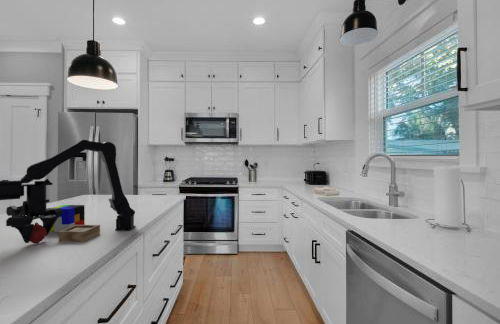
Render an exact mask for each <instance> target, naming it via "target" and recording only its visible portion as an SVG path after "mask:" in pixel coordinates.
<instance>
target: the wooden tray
mask: <svg viewBox="0 0 500 324" xmlns="http://www.w3.org/2000/svg"><path fill="white" fill-rule="evenodd" d="M100 234H101V225H100V224H85V225H75V226H72V227H69V228H67V229H64V230H61V231H59V232H58V242H87V241H88V240H91V239H93V238H94V237H95V238H96V236H98V235H100Z"/></svg>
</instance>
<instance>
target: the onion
mask: <svg viewBox="0 0 500 324" xmlns="http://www.w3.org/2000/svg"><path fill="white" fill-rule="evenodd" d="M46 234H47V231H46V229H45V228H44V227H43V225H41V224H39V223H38V222H37V221H36V222H34V226H33V230H32V234H31V238H30V241H29V243H33V244H34V245H37V244H39V243H40V242H42V241H43V240H44V239H45V238H46V237H47V236H46Z"/></svg>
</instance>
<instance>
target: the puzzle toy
mask: <svg viewBox="0 0 500 324" xmlns="http://www.w3.org/2000/svg"><path fill="white" fill-rule="evenodd" d="M52 208H61V209H62V215H59V218H58V219H57V220H56V222H55V223H54V225H53V227H52V228H51V230H50V232H49V233H52V232H54V233H57V232H58V233H59V231H61V230H64V229H67V228H69V227H72V226H75V225H86V223H85V219H86V218H85V217H86V216H85V213H86V212H85V204H62V205H57V206H54V207H52Z"/></svg>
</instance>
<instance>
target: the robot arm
mask: <svg viewBox="0 0 500 324" xmlns="http://www.w3.org/2000/svg"><path fill="white" fill-rule="evenodd" d="M85 150H86V151H91V152H95V153H98V154H99V157H100V159H101V160H102V162H103V164H104V166H105V170H106V174H107V178H108V182H109V186H110V191H111V198H108V201H109V202H108V203H109V204H110V206H109V207H110V209H112V210H113V211H114V212H116V215H117V216H116V219H115V229H114V231H131V230H133V229H134V228H135V227H136V225H134V224H135V221H134V220H135V213H136V211H135V210H134V209H133V208H131V205H130V203H129V201H128V199H127V196H126V195H125V194H124V192H123V187H122V183H121V180H120V176H119V175H120V174H119V172H118V171H119V170H118V167H117V163H116V161H117V147H116V145H115V144H114V143H113V142H111V141H105V142H98V141H92V140H87V139H81V140H79V141H78V142H77V143H75V144H73V145H71V146H70V147H68V148H65V149H64V150H62V151H61V152H59V153H57V154H55V155H54V156H52V157H49V158H46V159H44V160H41V161H39V162H36V163H33V164H31V165H29V166H28V167H27V168H26V171H25V172H26V174H25V175H24V176H23V177H21V179H20V180H0V201H8V200H9V201H10V200H20V199H21V197H24V196H25V187H26V200H24V201H23V202H22V205H20V206H16V205H10V206H7V207H6V215H7V216H9V217H8V218H7V219H6V220H5V223H6V224H5V227H11V228H15V229H16V230H17V231H18V232H19V234H20V236H21V238H22V240H23V241H24V244H29V243H30V238H31V234H32V230H33V226H34V225H35V223H33V222H34V220H37V219H40V221H41V222H42V226H43V227H44V228H45V229H46V231H47V234H46V236H45V237H48V236H49V234H50V233H51V232H50V230H51V228H52V227H53V225H54V223H55V222H56V220H57V219H58V218H59V215H62V209H61V208H53V207H48V208H47V203H50V199H49V198H48V199H47V186H52V185H53V184H54V183H53V182H52V181H50V180H49V179H48V178H45V177H47V176H48V175H49V174H50V173H51V172H52V171H54V169H56V168H57V167H58V166H60V165H61V164H63V163H65V162H67V161H68V160H70V159H72V158H74V157H75V156H77V155H79V154H80V153H81V152H84V151H85ZM44 178H45V179H44ZM42 179H44V180H42ZM34 180H35V181H34ZM32 181H34V183H31V182H32ZM10 216H11V217H10Z"/></svg>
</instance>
